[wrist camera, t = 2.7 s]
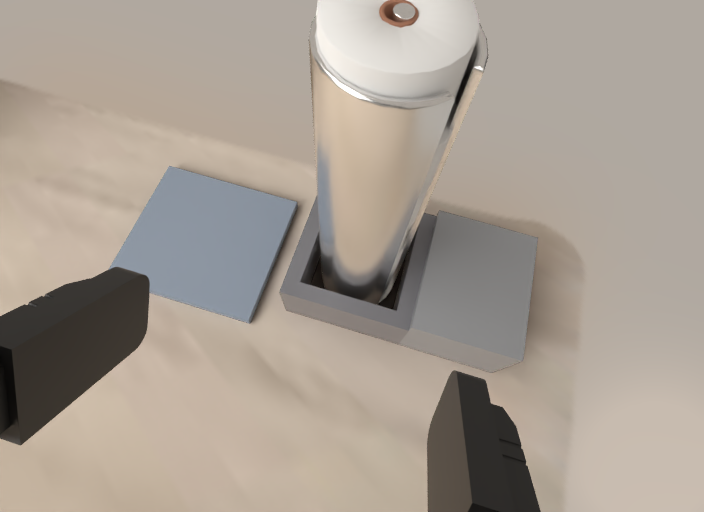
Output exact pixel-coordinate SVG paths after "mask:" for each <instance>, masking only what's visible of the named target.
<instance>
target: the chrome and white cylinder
mask: <svg viewBox="0 0 704 512" xmlns="http://www.w3.org/2000/svg"><path fill="white" fill-rule="evenodd" d="M309 55H310V73H311V90H312V107H313V108H312V109H313V126H314V145H315V163H316V181H317V198H318V216H319V234H320V252H321V270H322V280H323V285H324V287H325V289H326V290H329V291H332V292H335V293H339V294H342V295H345V296H349V297H352V298H355V299H359V300H362V301H365V302H369V303H372V304H375V305H377V304H379V303H380V302H381V301H382V300H384V299H385V298H386V297H387V295H388V294H389V292H390V291H391V289H392V286H393V284H394V282H395V279H396V277H397V275H398V272H399V270H400V268H401V265H402V263H403V260H404V258H405V256H406V253H407V251H408V249H409V246H410V244H411V242H412V239H413V237H414V235H415V232H416V230H417V228H418V225H419V223H420V221H421V218H422V216H423V214H424V211H425V209H426V207H427V204H428V202H429V199H430V197H431V195H432V192H433V190H434V188H435V185H436V183H437V181H438V178H439V176H440V174H441V171H442V169H443V166H444V164H445V162H446V159H447V157H448V155H449V153H450V150H451V148H452V146H453V143H454V141H455V139H456V136H457V134H458V131H459V129H460V127H461V124H462V122H463V120H464V117H465V115H466V113H467V110H468V108H469V106H470V103H471V101H472V99H473V96H474V94H475V92H476V89H477V87H478V85H479V82H480V80H481V77H482V75H483V72H484V69H485V66H486V62H487V59H488V48H487V38H486V36H485V34H484V31H483V30H482V27H481V25H480V23H479V15H478V12H477V9H476V6H475V3H474V1H473V0H318V4H317V11H316V16H315V17H314V19H313V21H312V24H311V30H310V35H309Z"/></svg>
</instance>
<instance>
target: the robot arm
mask: <svg viewBox="0 0 704 512" xmlns="http://www.w3.org/2000/svg"><path fill="white" fill-rule="evenodd" d="M149 290H150V282H149V278H148V277H147V276H146V275H144V274H140V273H137V272H134V271H131V270H127V269H124V268H121V267H114V268H111V269H109V270H107V271H105V272H103V273H101V274H99V275H97V276H95V277H94V278H92V279H86V280H82V281H78V282H73V283H69V284H65V285H63V286H61V287H59V288H57V289H55V290H53V291H51V292H49V293H47V294H46V295H45V296H44V297H43V296H41V297H39V298H37V299H35V300H33V301H31V302H29V304H28V305H25V304H24V305H22V306H20V307H18V308H16V309H14V310H12V311H10V312H8V313H6V314H4V315H2V316H0V438H1V439H4V440H6V441H9V442H12V443H15V444H18V445H22V444H23V443H24V442H25V441H27V440H28V439H29V438H30V437H31V436H33V435H34V434H35V433H36V432H37V431H39V430H40V429H41V428H42V427H43V426H45V425H46V424H47V423H48V422H49V421H51V420H52V419H53V418H54V417H55V416H57V415H58V414H59V413H60V412H61V411H63V410H64V409H65V408H66V407H67V406H69V405H70V404H71V403H72V402H73V401H75V400H76V399H77V398H78V397H79V396H81V395H82V394H83V393H84V392H85V391H87V390H88V389H89V388H90V387H91V386H93V385H94V384H95V383H96V382H97V381H99V380H100V379H101V378H102V377H103V376H105V375H106V374H107V373H108V372H109V371H111V370H112V369H113V368H114V367H115V366H117V365H118V364H119V363H120V362H121V361H123V360H124V359H125V358H126V357H127V356H129V355H130V354H131V353H132V352H133V351H135V350H136V349H137V348H138V346H139V345H140V344H141V342H142V340H143V339H144V336H145V334H146V331H147V324H148V307H149ZM427 466H428V512H541V511H540V508H539V505H538V501H537V498H536V494H535V491H534V487H533V484H532V480H531V477H530V473H529V470H528V466H526V459H525V456H524V452H523V449H521V442H520V439H519V435H518V432H517V428H516V426H515V424H514V423H513V421H512V420H511V419H510V417H509V416H508V414H507V413H506V411H505V410H504V409H503V407H500V406H497V405H493V404H491V402H490V398H489V393H488V389H487V384H486V381H485V380H484V379H481V378H478V377H474V376H471V375H468V374H465V373H461V372H458V371H453V372H452V373H451V375H450V376H449V379H448V381H447V384H446V386H445V388H444V391H443V393H442V396H441V398H440V401H439V403H438V406H437V408H436V410H435V413H434V415H433V418H432V421H431V424H430V428H429V434H428V442H427Z"/></svg>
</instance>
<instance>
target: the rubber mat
mask: <svg viewBox="0 0 704 512" xmlns="http://www.w3.org/2000/svg"><path fill="white" fill-rule="evenodd" d="M297 207H298V206H297V202H295V201H292V200H288V199H285V198H281V197H277V196H274V195H270V194H267V193H263V192H260V191H256V190H253V189H249V188H246V187H242V186H239V185H235V184H232V183H228V182H225V181H221V180H218V179H214V178H211V177H207V176H204V175H200V174H196V173H193V172H189V171H186V170H182V169H179V168H175V167H172V166H169V167H168V169H167V171H166V172H165V174H164V176H163V178H162V179H161V181H160V183H159V184H158V186H157V188H156V190H155V191H154V193H153V195H152V196H151V198H150V200H149V201H148V203H147V205H146V207H145V208H144V210H143V212H142V213H141V215H140V217H139V219H138V220H137V222H136V224H135V225H134V227H133V229H132V230H131V232H130V234H129V236H128V237H127V239H126V241H125V242H124V244H123V246H122V248H121V249H120V251H119V253H118V254H117V256H116V258H115V260H114V261H113V263H112V265H111V266H110V268H109V269H111V268H114V267H121V268H124V269H127V270H131V271H134V272H137V273H140V274H144V275H146V276H147V277H148V278H149V282H150V290H149V293H152V294H155V295H159V296H162V297H165V298H168V299H172V300H175V301H178V302H181V303H185V304H188V305H191V306H194V307H198V308H201V309H204V310H207V311H210V312H214V313H217V314H220V315H223V316H227V317H230V318H233V319H236V320H240V321H243V322H246V323H249V324H250V322H251V320H252V317H253V315H254V312H255V310H256V307H257V305H258V303H259V300H260V298H261V295H262V293H263V290H264V288H265V285H266V283H267V280H268V278H269V275H270V273H271V271H272V268H273V266H274V263H275V261H276V258H277V256H278V253H279V251H280V248H281V246H282V244H283V241H284V239H285V236H286V234H287V231H288V229H289V226H290V224H291V221H292V219H293V216H294V214H295V212H296V209H297Z"/></svg>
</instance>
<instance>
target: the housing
mask: <svg viewBox="0 0 704 512" xmlns="http://www.w3.org/2000/svg"><path fill="white" fill-rule="evenodd" d="M537 241H538V238H537V237H533V236H530V235H526V234H523V233H519V232H516V231H512V230H508V229H505V228H501V227H498V226H494V225H490V224H487V223H483V222H480V221H476V220H472V219H469V218H465V217H462V216H458V215H454V214H451V213H447V212H444V211H440V210H439V212H438V214H437V216H433V215H430V214H426V213H424V214H423V216H422V218H421V221H420V223H419V225H418V228H417V230H416V232H415V235H414V237H413V239H412V242H411V244H410V246H409V249H408V253H407V257H406V261H405V265H404V269H403V272H402V276H401V280H400V284H399V288H398V291H397V295H396V299H395V303H394V307H393V310H392V309H389V308H386V307H382V306H379V305H375V304H372V303H369V302H365V301H362V300H359V299H355V298H352V297H349V296H345V295H342V294H339V293H335V292H332V291H329V290H325V289H322V288H318V287H315V286H312V285H310V283H311V280H312V278H313V275H314V272H315V269H316V267H317V264H318V261H319V258H320V255H321V252H320V234H319V216H318V198H317V197H316V199H315V202H314V204H313V207H312V209H311V212H310V214H309V217H308V220H307V222H306V225H305V227H304V230H303V232H302V235H301V238H300V240H299V243H298V245H297V248H296V250H295V253H294V256H293V258H292V261H291V263H290V266H289V268H288V271H287V274H286V276H285V279H284V281H283V284H282V286H281V289H280V295H281V298H282V300H283V303H284V306H285V309H286V310H287V311H290V312H294V313H297V314H300V315H303V316H307V317H310V318H313V319H317V320H320V321H323V322H326V323H330V324H333V325H336V326H340V327H343V328H346V329H349V330H353V331H356V332H359V333H363V334H366V335H369V336H372V337H376V338H379V339H382V340H386V341H389V342H392V343H395V344H399V345H402V346H405V347H409V348H412V349H415V350H418V351H422V352H425V353H428V354H432V355H435V356H438V357H441V358H445V359H448V360H451V361H455V362H458V363H461V364H464V365H468V366H471V367H474V368H478V369H481V370H484V371H487V372H491V373H492V372H495V371H498V370H501V369H503V368H506V367H509V366H512V365H514V364H517V363H520V362H522V361H523V358H524V350H525V341H526V333H527V325H528V316H529V308H530V299H531V291H532V283H533V274H534V266H535V258H536V249H537Z"/></svg>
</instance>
